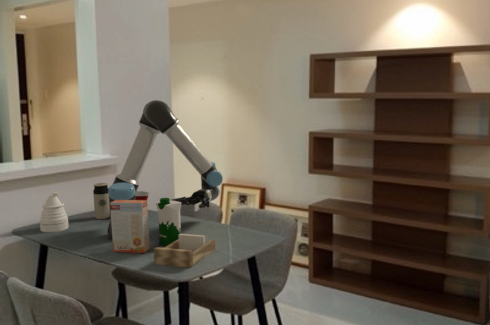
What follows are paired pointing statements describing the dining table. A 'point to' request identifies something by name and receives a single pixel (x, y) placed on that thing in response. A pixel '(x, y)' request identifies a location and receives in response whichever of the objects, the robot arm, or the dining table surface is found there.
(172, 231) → the soya milk
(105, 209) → the travel mug
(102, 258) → the dining table surface
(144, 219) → the cracker box
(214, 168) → the robot arm
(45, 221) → the honey pot
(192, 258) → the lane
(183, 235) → the block
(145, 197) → the plastic cup
